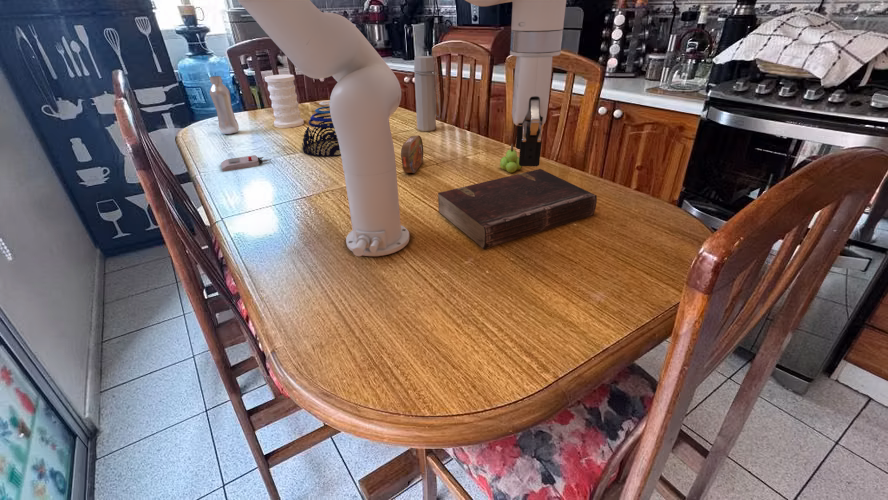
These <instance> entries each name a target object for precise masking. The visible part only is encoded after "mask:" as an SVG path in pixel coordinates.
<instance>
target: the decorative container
mask: <svg viewBox="0 0 888 500" xmlns="http://www.w3.org/2000/svg"><path fill="white" fill-rule="evenodd" d="M295 80H296V78H295V75H294V74H289V73H285V74H273V75H272V74H271V75H267V76H265V77H264V82H265V83H267V91H268V92H269V99H270V101H271V108H272V110H273V117H274V119H275V120H274V121H273V127H275V128H280V129H289V128H296V127H300V126H302V125H304V124H305V121H304V118H301V111H300V109H299V105H300V103H299V101H298V99H297V98H298V95H297V92H296V85H295V82H294V81H295Z"/></svg>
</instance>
